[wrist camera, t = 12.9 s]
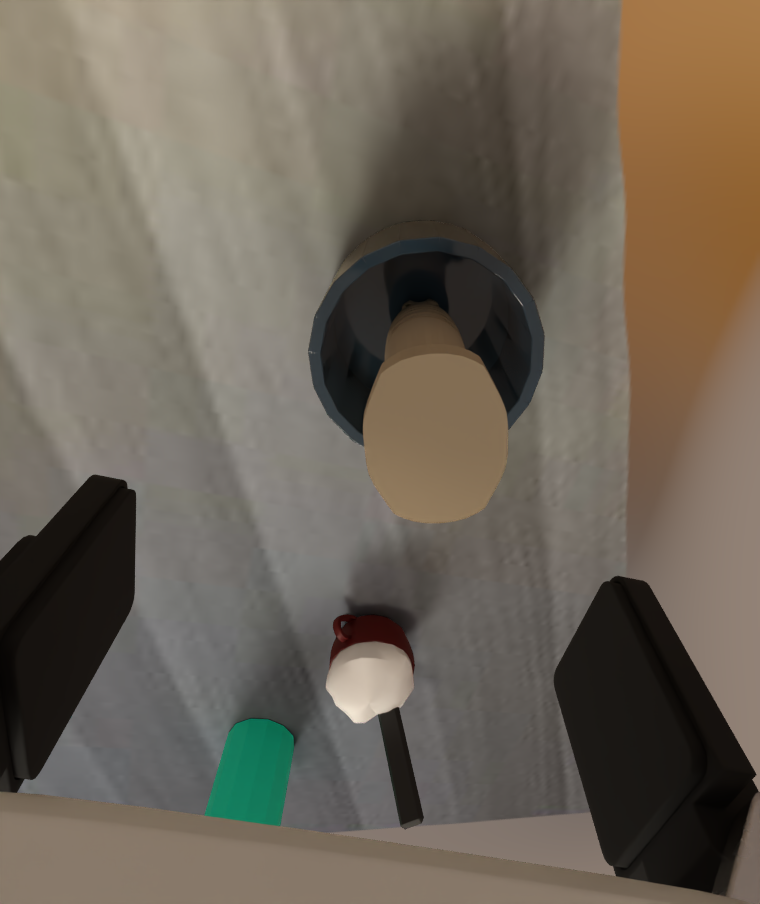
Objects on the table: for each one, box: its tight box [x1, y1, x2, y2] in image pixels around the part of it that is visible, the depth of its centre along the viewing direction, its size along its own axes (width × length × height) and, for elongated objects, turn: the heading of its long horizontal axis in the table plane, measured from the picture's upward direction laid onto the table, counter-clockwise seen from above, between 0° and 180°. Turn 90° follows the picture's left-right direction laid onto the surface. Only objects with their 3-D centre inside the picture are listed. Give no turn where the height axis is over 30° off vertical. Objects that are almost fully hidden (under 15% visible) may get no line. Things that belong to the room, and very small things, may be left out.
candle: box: [204, 719, 294, 826], centre depth 46 cm, size 6×6×12 cm
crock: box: [308, 220, 545, 447], centre depth 30 cm, size 11×11×7 cm
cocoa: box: [326, 614, 424, 829], centre depth 40 cm, size 10×6×12 cm, turn 10°
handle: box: [363, 299, 508, 523], centre depth 26 cm, size 5×6×15 cm
